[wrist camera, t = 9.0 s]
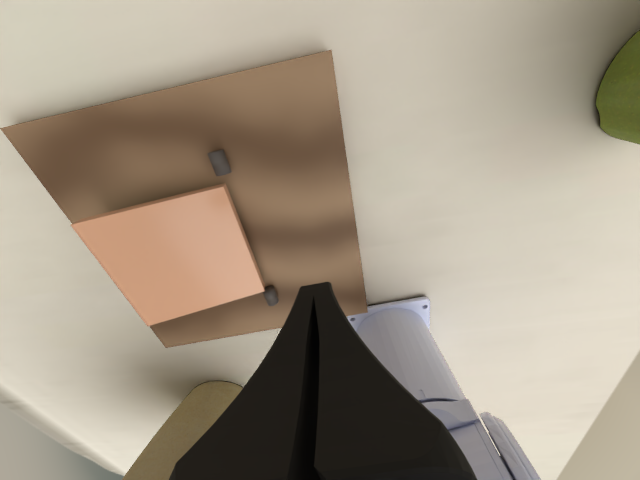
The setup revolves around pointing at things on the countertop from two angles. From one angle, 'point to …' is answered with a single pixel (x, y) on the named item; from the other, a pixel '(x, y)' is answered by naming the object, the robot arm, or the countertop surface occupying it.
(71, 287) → the countertop surface
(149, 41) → the countertop surface
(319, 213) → the board
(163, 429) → the plant pot
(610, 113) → the plant pot
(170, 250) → the tile
